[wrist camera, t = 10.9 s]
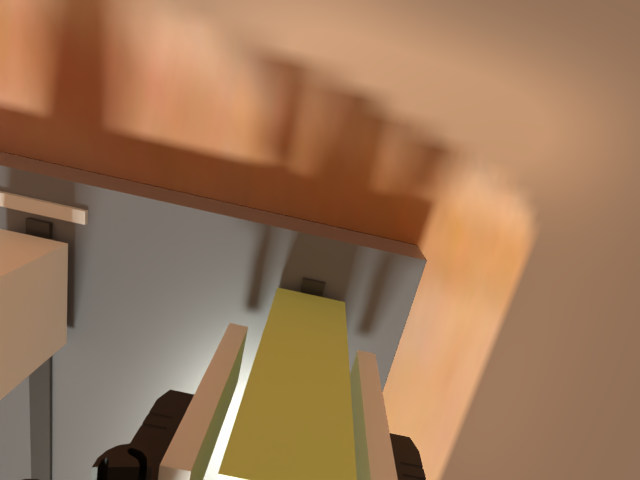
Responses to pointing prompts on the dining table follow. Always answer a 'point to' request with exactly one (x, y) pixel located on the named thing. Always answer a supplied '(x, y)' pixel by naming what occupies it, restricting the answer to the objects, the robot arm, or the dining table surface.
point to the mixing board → (171, 304)
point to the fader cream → (30, 304)
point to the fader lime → (296, 397)
